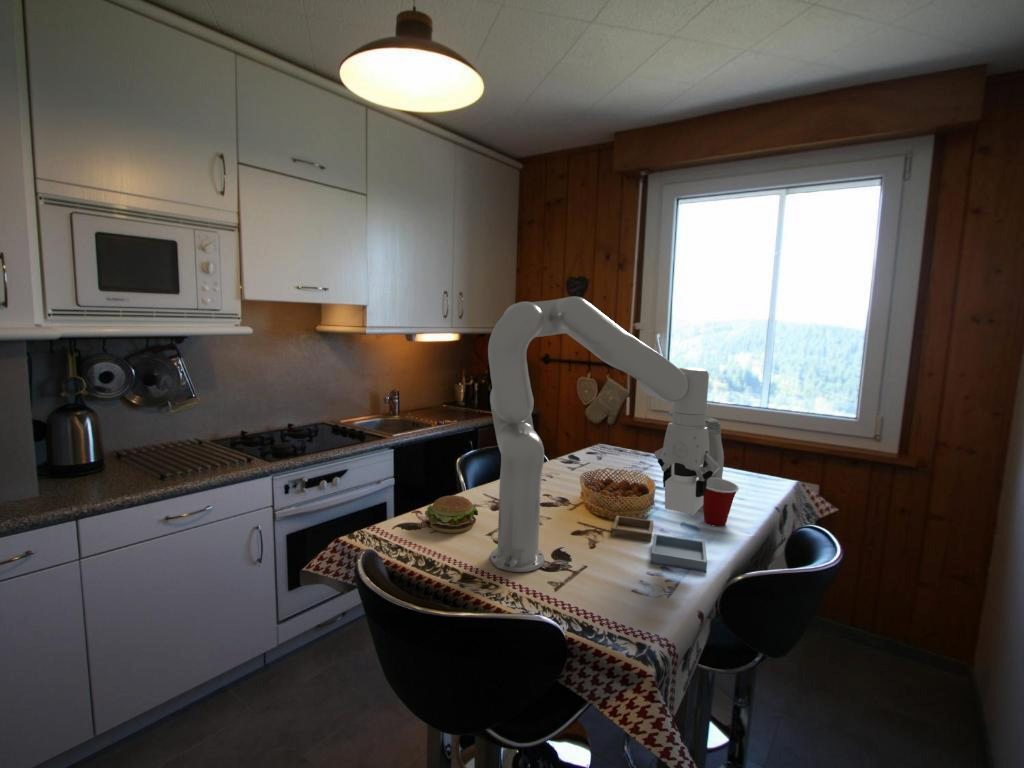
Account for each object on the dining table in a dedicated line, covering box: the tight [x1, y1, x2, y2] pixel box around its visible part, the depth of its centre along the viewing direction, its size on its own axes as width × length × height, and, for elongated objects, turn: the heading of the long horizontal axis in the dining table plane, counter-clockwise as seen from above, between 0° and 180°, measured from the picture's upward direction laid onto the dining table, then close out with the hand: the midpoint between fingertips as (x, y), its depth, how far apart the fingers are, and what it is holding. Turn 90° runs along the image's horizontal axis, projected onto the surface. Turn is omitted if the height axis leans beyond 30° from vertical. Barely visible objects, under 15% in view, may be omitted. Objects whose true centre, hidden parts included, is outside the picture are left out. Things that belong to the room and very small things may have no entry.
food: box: [424, 494, 479, 534], centre depth 142 cm, size 14×14×8 cm
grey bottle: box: [705, 416, 725, 479], centre depth 168 cm, size 10×10×28 cm
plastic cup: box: [702, 478, 740, 527], centre depth 151 cm, size 11×11×12 cm
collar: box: [611, 515, 654, 542], centre depth 144 cm, size 10×10×2 cm
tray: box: [650, 533, 708, 573], centre depth 128 cm, size 12×12×2 cm
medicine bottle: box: [664, 463, 703, 516], centre depth 127 cm, size 7×7×12 cm
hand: (683, 491), depth 127 cm, fingers closed on medicine bottle, 8 cm apart
